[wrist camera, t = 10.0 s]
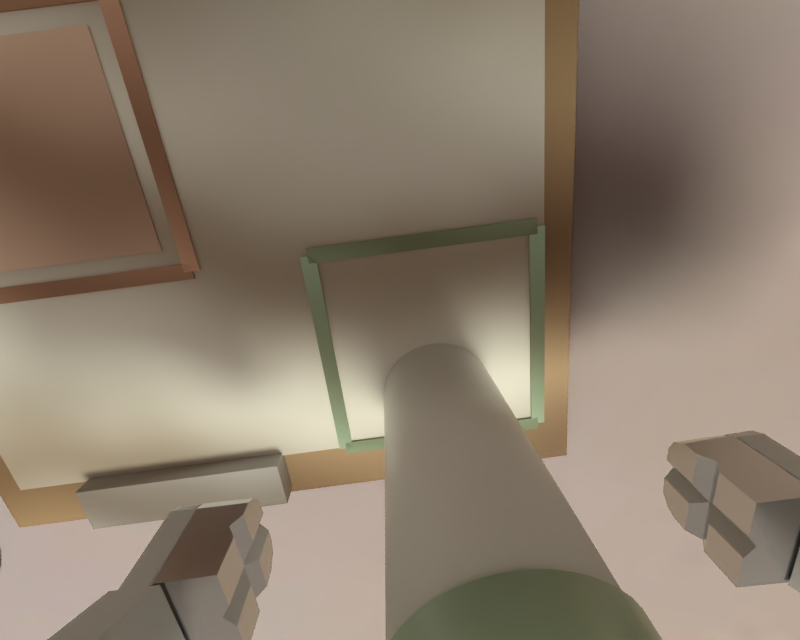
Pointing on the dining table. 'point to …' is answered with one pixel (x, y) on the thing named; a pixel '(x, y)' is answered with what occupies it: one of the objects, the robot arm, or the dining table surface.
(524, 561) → the marker
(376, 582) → the dining table surface
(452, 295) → the clipboard
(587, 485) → the dining table surface
